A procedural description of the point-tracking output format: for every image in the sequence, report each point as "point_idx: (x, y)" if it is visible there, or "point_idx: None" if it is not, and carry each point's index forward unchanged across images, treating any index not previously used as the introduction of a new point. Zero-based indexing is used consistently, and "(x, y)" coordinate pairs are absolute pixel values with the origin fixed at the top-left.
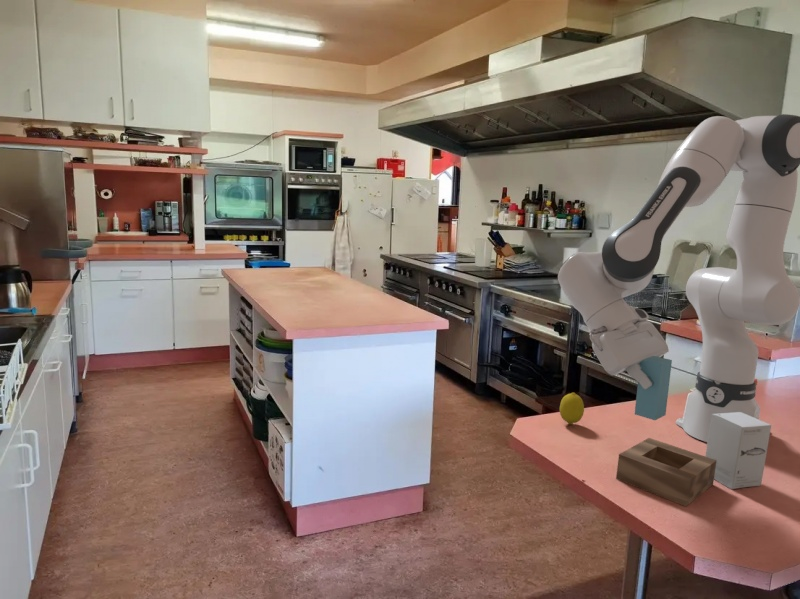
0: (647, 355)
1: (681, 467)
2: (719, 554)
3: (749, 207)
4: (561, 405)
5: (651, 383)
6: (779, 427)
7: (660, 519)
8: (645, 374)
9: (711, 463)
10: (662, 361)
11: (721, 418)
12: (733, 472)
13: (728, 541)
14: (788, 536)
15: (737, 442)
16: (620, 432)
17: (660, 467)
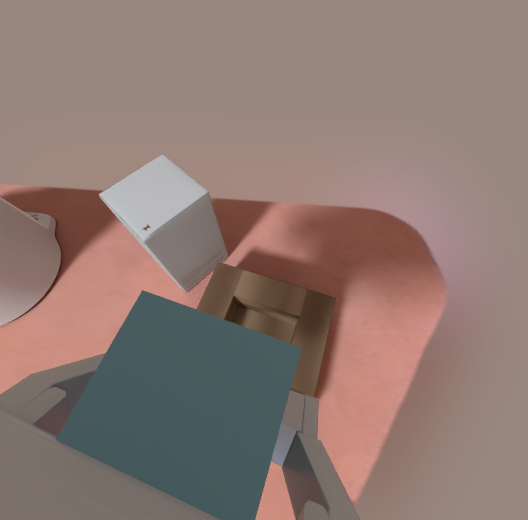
0: (127, 501)
1: (229, 319)
2: (423, 270)
3: None
4: None
5: (309, 396)
6: None
7: (392, 341)
8: (305, 447)
9: (237, 269)
10: (219, 347)
11: (165, 225)
12: (223, 245)
13: (383, 261)
14: (320, 208)
15: (211, 217)
16: None
17: (315, 348)
